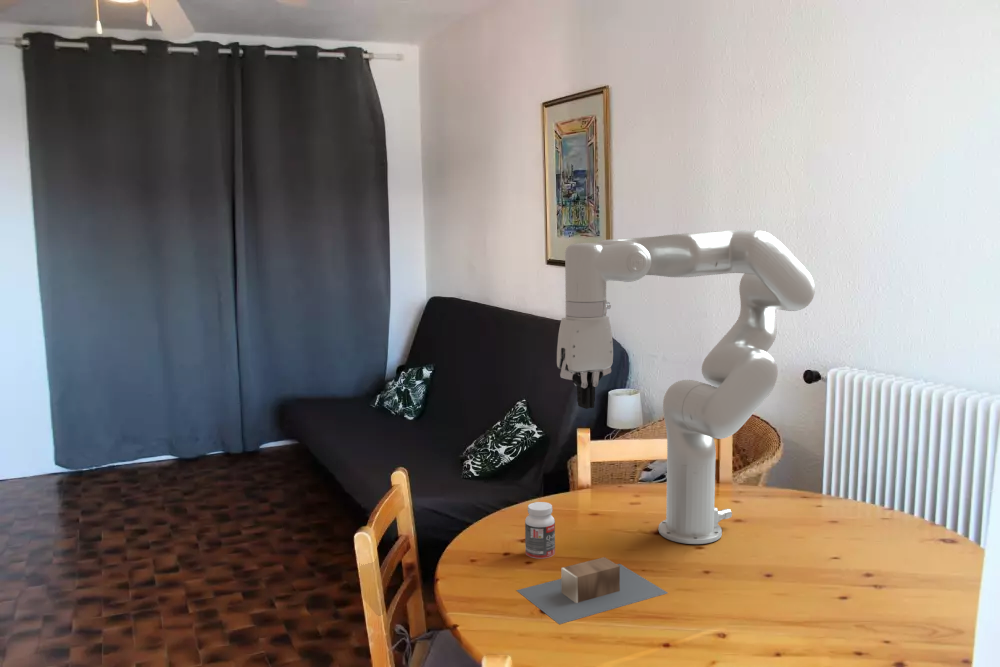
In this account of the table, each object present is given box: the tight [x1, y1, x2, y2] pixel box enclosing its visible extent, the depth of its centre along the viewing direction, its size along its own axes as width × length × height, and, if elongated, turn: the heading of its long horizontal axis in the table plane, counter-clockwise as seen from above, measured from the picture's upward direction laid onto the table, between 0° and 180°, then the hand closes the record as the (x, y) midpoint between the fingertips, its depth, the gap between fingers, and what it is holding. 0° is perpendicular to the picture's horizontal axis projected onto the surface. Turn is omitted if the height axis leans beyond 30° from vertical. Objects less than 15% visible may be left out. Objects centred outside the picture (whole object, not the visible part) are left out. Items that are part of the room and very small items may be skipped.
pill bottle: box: [524, 501, 556, 559], centre depth 162 cm, size 6×6×10 cm
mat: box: [515, 563, 669, 625], centre depth 145 cm, size 22×14×1 cm, turn 118°
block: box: [560, 556, 620, 603], centre depth 145 cm, size 4×4×9 cm
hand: (586, 406), depth 158 cm, fingers closed
